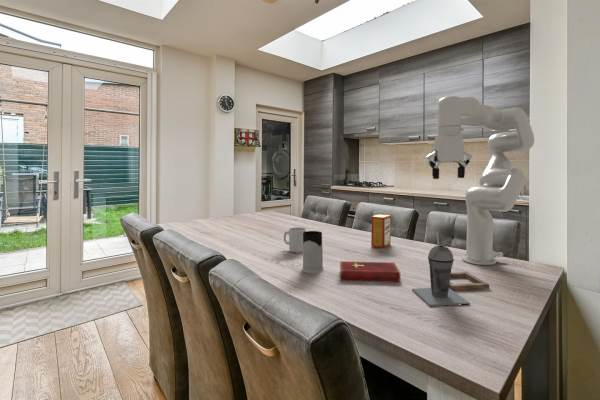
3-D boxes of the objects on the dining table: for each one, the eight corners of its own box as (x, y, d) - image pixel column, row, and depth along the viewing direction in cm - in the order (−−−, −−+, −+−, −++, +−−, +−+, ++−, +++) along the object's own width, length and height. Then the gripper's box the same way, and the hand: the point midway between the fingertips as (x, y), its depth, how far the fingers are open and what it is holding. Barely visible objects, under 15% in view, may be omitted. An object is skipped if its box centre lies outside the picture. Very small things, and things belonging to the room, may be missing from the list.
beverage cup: (455, 300, 91) (458, 234, 89) (429, 299, 93) (431, 233, 91) (448, 291, 98) (450, 229, 96) (424, 289, 100) (426, 228, 98)
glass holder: (298, 272, 121) (298, 234, 119) (310, 261, 134) (309, 227, 133) (320, 274, 118) (319, 235, 116) (329, 263, 131) (329, 228, 130)
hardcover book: (400, 283, 108) (400, 271, 108) (340, 281, 111) (340, 270, 111) (394, 272, 120) (394, 261, 120) (340, 270, 123) (340, 260, 123)
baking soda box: (378, 243, 166) (378, 213, 164) (390, 244, 162) (390, 214, 160) (371, 246, 158) (371, 215, 157) (383, 248, 154) (384, 216, 153)
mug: (309, 249, 155) (308, 227, 154) (302, 253, 147) (301, 231, 146) (288, 247, 160) (287, 226, 159) (280, 251, 152) (279, 229, 151)
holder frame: (466, 275, 114) (466, 271, 114) (489, 288, 101) (489, 284, 101) (433, 277, 113) (433, 273, 113) (452, 290, 100) (452, 286, 100)
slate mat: (447, 289, 102) (447, 287, 102) (469, 304, 90) (470, 302, 90) (412, 290, 101) (412, 288, 101) (429, 306, 89) (429, 304, 89)
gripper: (465, 132, 118) (464, 177, 120) (421, 133, 117) (421, 178, 118) (478, 130, 110) (476, 177, 112) (431, 131, 109) (431, 179, 111)
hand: (448, 178), depth 115 cm, fingers open, 9 cm apart
